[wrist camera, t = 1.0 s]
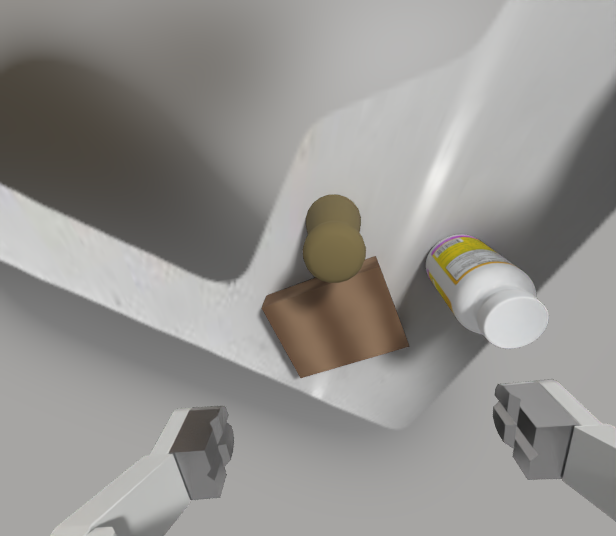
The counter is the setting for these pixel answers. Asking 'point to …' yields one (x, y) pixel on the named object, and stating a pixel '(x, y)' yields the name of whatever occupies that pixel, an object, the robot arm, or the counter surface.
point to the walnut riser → (336, 320)
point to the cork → (333, 239)
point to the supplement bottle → (486, 291)
